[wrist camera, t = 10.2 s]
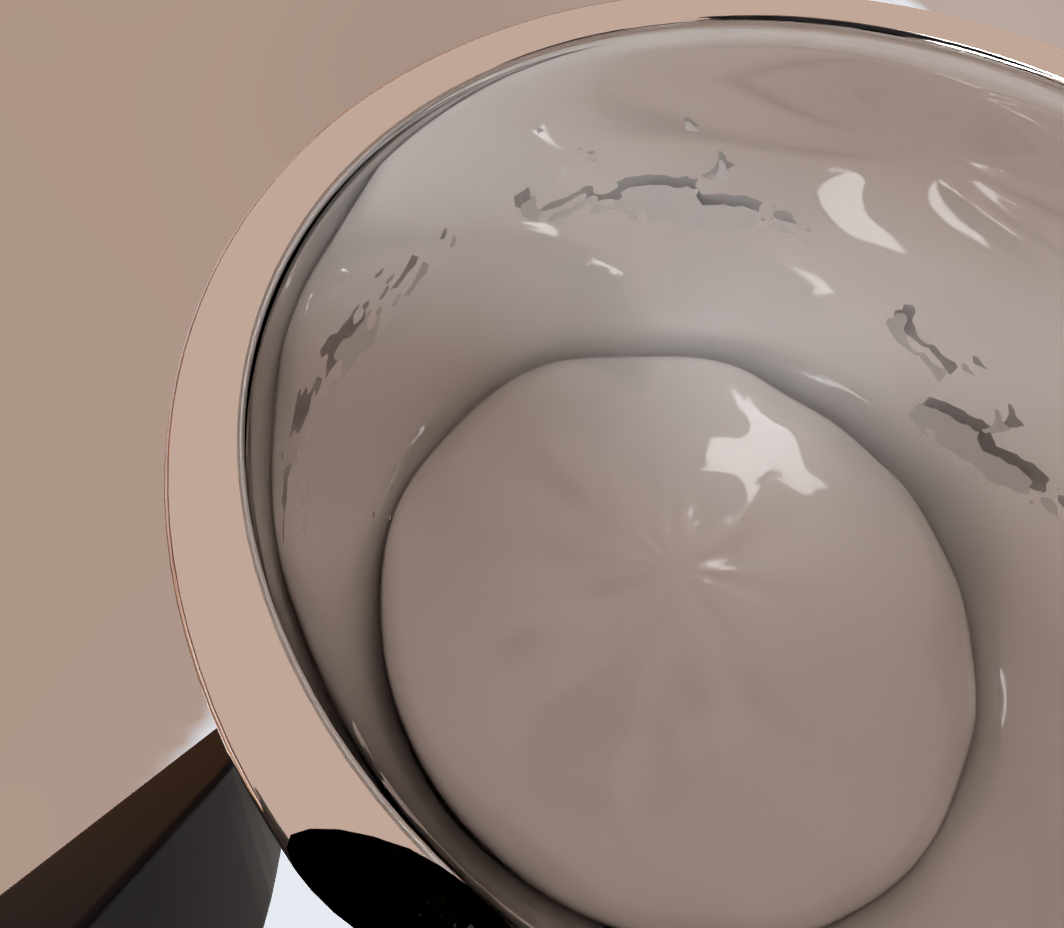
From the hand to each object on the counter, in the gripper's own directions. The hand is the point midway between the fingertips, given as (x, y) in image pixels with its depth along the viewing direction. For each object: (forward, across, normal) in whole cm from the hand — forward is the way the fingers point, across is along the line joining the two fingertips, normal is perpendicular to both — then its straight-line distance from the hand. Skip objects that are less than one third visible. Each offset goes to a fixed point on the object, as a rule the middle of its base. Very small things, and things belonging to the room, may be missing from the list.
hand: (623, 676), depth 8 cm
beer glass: (+7, 0, +6) cm, 9 cm away
